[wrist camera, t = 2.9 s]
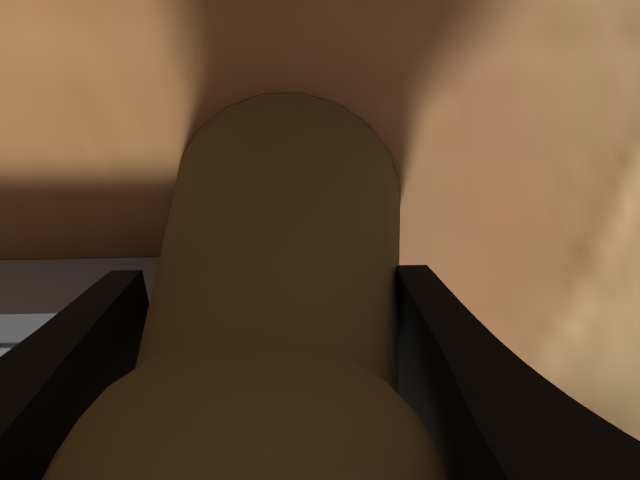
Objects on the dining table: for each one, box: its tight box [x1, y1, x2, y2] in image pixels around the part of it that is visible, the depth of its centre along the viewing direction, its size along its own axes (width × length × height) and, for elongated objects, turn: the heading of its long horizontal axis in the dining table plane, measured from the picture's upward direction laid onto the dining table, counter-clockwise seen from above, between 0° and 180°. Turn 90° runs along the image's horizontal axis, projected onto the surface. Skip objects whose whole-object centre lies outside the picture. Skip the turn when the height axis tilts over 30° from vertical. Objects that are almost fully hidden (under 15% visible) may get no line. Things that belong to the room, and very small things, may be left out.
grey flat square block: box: [0, 257, 159, 356], centre depth 17 cm, size 11×11×3 cm
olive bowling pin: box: [42, 93, 449, 480], centre depth 10 cm, size 6×6×11 cm
